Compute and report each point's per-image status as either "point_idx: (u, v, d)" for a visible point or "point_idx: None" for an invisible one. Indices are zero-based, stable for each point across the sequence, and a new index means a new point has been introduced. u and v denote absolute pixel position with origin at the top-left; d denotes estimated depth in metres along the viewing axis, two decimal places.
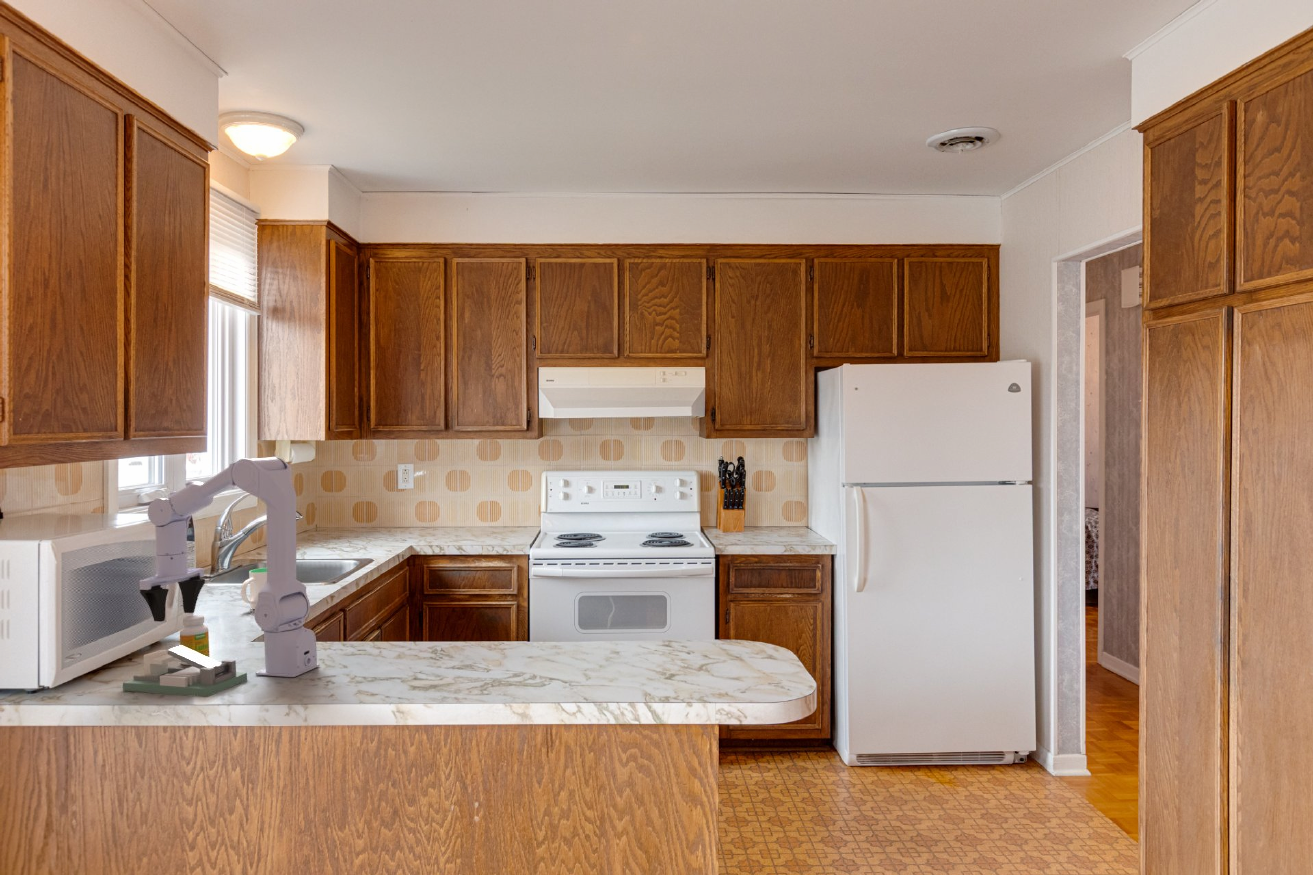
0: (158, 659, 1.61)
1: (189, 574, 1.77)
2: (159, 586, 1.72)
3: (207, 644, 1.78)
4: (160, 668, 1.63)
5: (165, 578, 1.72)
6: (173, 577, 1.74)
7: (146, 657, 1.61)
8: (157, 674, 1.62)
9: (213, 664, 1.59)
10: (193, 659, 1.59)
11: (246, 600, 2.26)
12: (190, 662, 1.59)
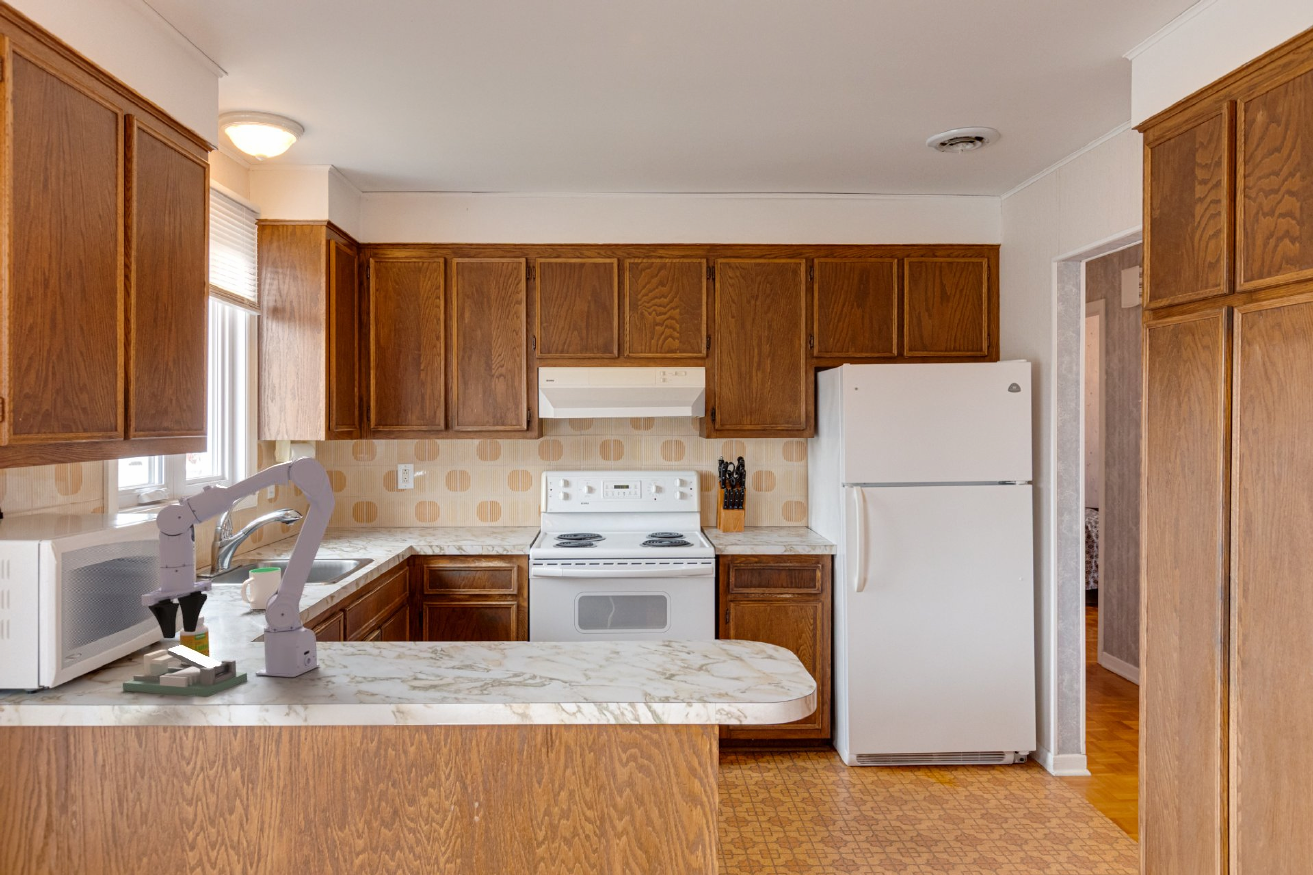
0: (158, 659, 1.61)
1: (196, 588, 1.62)
2: (169, 600, 1.58)
3: (207, 644, 1.78)
4: (160, 668, 1.63)
5: (169, 593, 1.57)
6: (178, 591, 1.58)
7: (146, 657, 1.61)
8: (157, 674, 1.62)
9: (213, 664, 1.59)
10: (193, 659, 1.59)
11: (246, 600, 2.26)
12: (190, 662, 1.59)
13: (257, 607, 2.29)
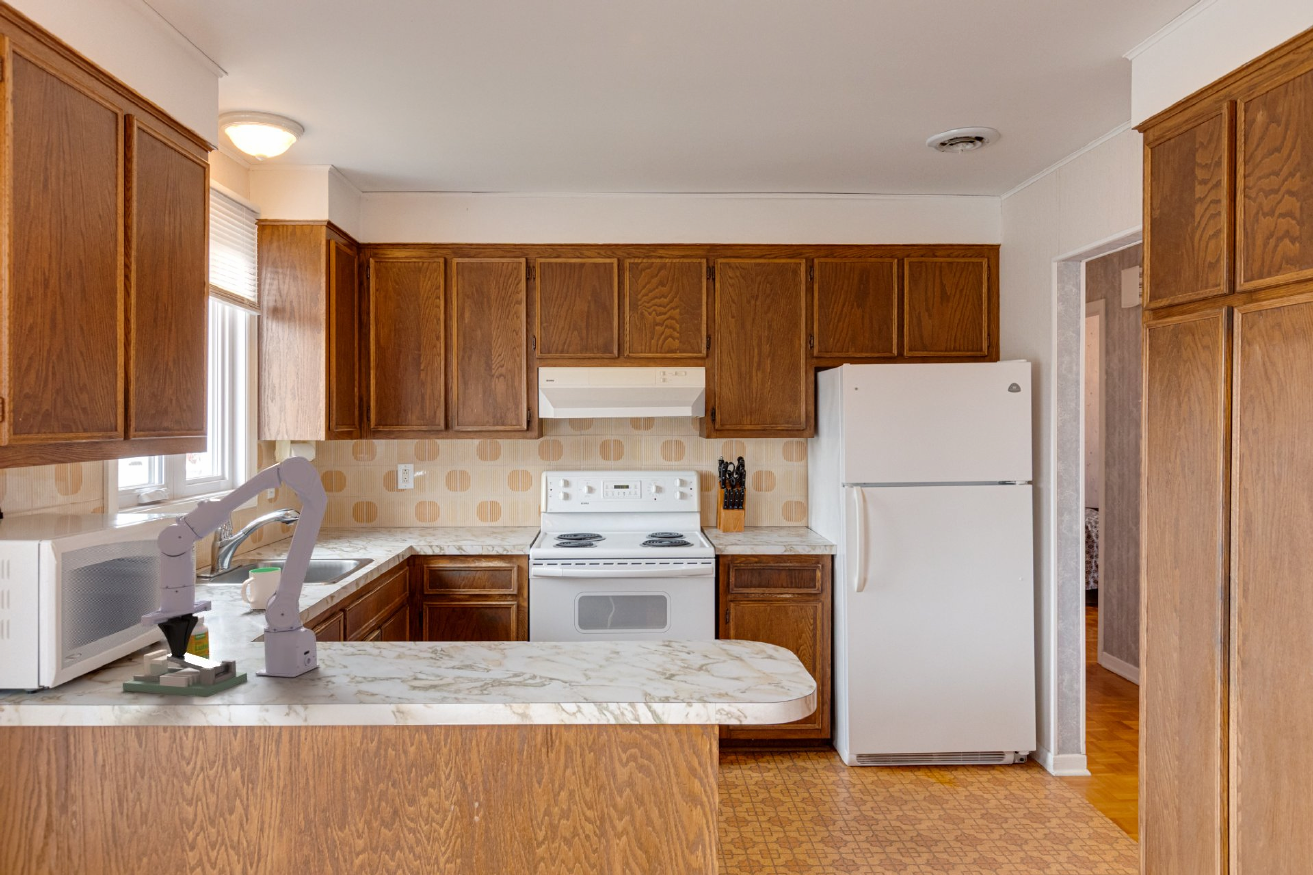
0: (158, 659, 1.61)
1: (195, 608, 1.62)
2: (178, 618, 1.60)
3: (207, 644, 1.78)
4: (160, 668, 1.63)
5: (169, 613, 1.57)
6: (178, 612, 1.58)
7: (146, 657, 1.61)
8: (157, 674, 1.62)
9: (213, 665, 1.59)
10: (192, 662, 1.59)
11: (246, 600, 2.26)
12: (190, 665, 1.59)
13: (257, 607, 2.29)
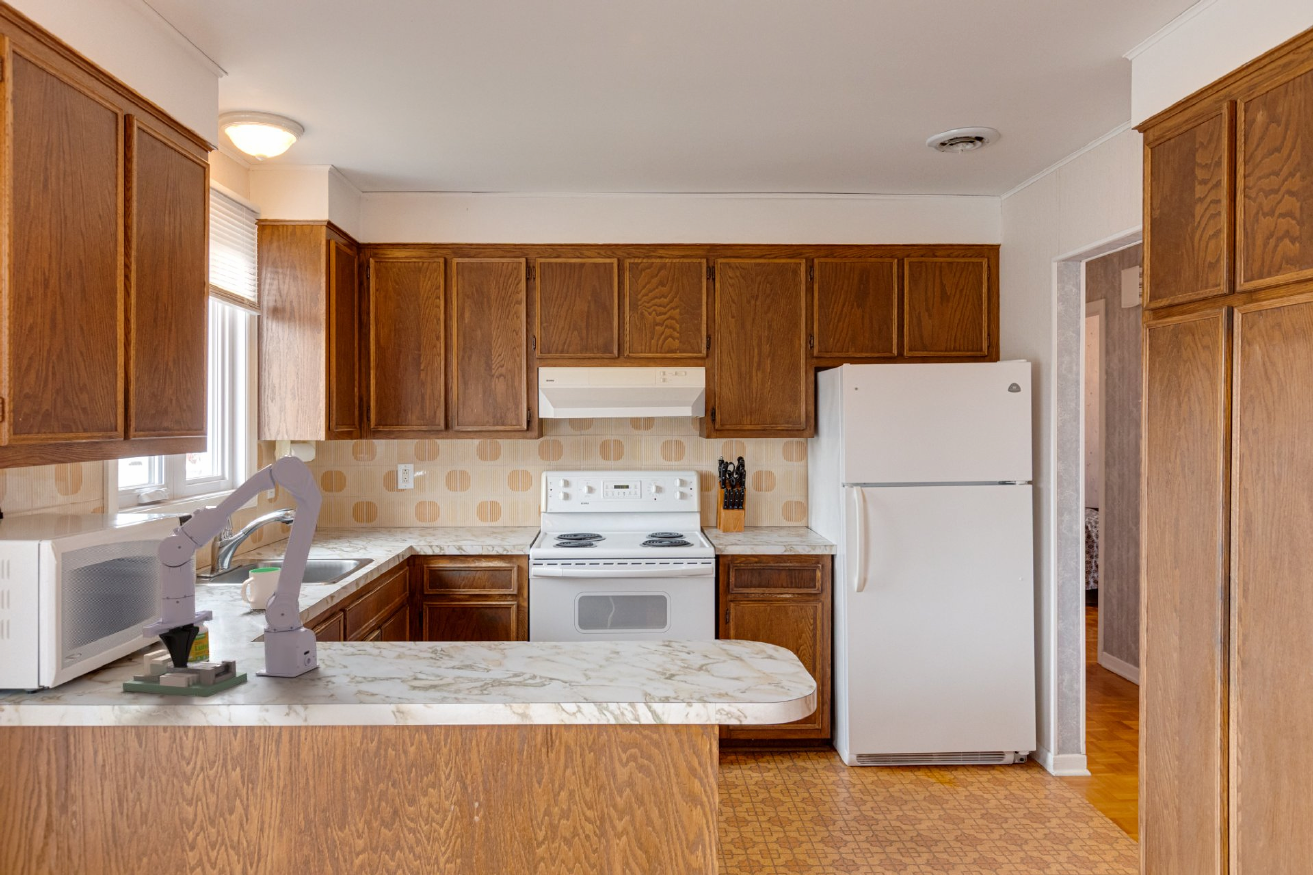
0: (158, 659, 1.61)
1: (196, 618, 1.62)
2: (179, 628, 1.60)
3: (207, 644, 1.78)
4: (160, 668, 1.63)
5: (170, 624, 1.57)
6: (179, 623, 1.58)
7: (146, 657, 1.61)
8: (157, 674, 1.62)
9: (212, 666, 1.59)
10: (192, 667, 1.59)
11: (246, 600, 2.26)
12: (189, 671, 1.59)
13: (257, 607, 2.29)
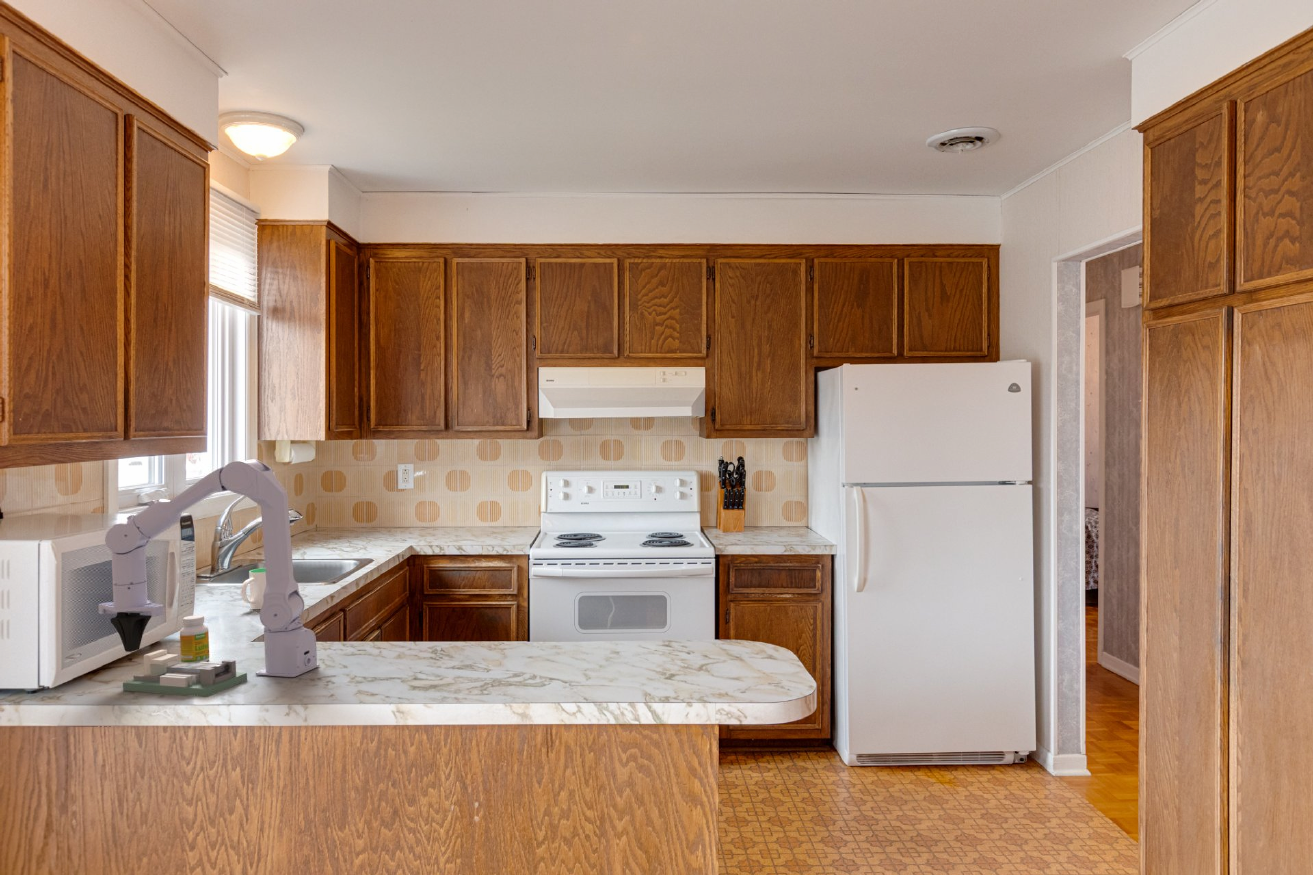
0: (158, 659, 1.61)
1: (125, 609, 1.61)
2: (124, 614, 1.64)
3: (207, 644, 1.78)
4: (160, 668, 1.63)
5: (107, 607, 1.64)
6: (111, 608, 1.63)
7: (146, 657, 1.61)
8: (157, 674, 1.62)
9: (212, 666, 1.59)
10: (192, 667, 1.59)
11: (246, 600, 2.26)
12: (189, 671, 1.59)
13: (257, 607, 2.29)
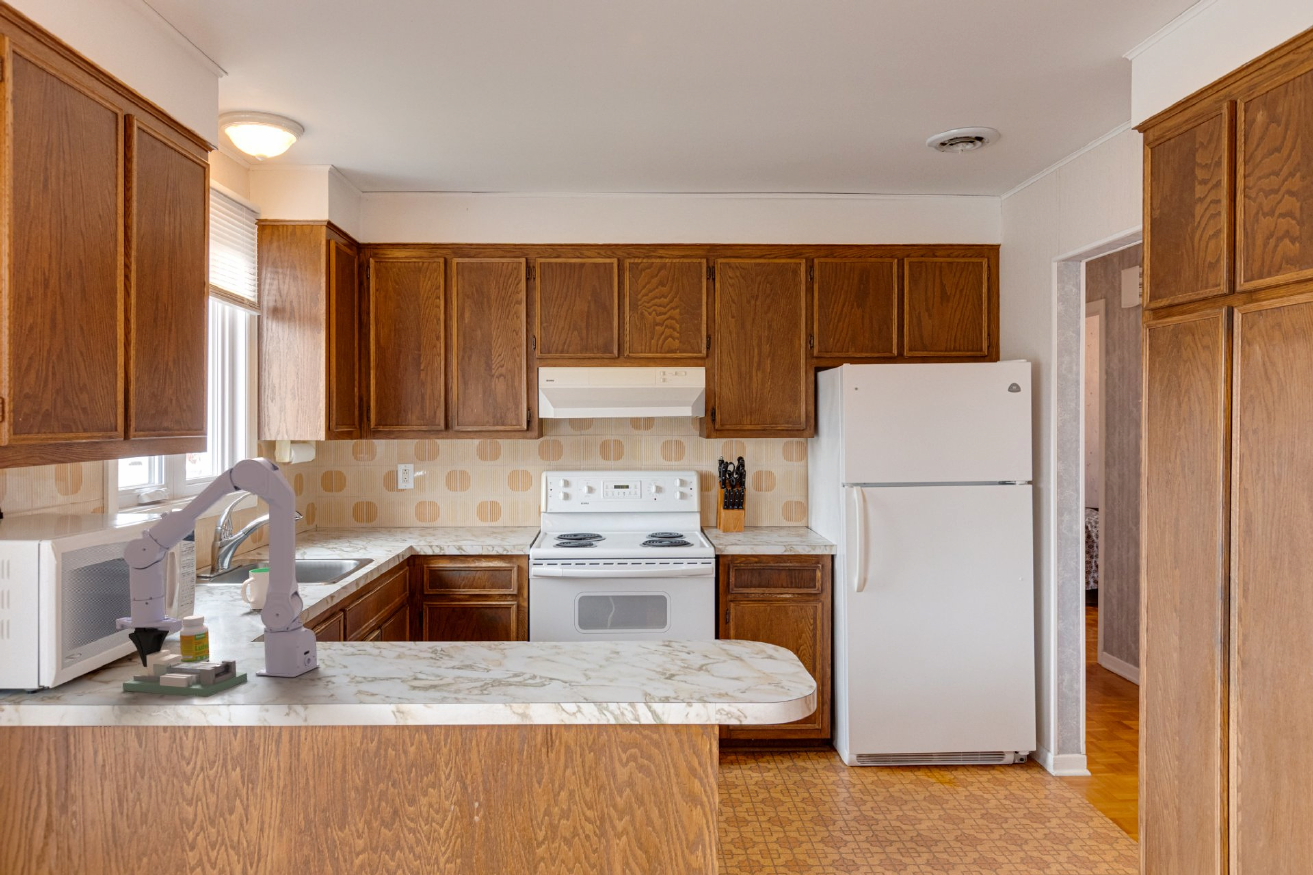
0: (161, 659, 1.61)
1: (144, 625, 1.60)
2: (142, 629, 1.63)
3: (207, 644, 1.78)
4: (163, 668, 1.63)
5: (125, 622, 1.62)
6: (129, 623, 1.61)
7: (149, 657, 1.61)
8: (160, 674, 1.62)
9: (212, 666, 1.59)
10: (192, 667, 1.59)
11: (246, 600, 2.26)
12: (189, 671, 1.59)
13: (257, 607, 2.29)
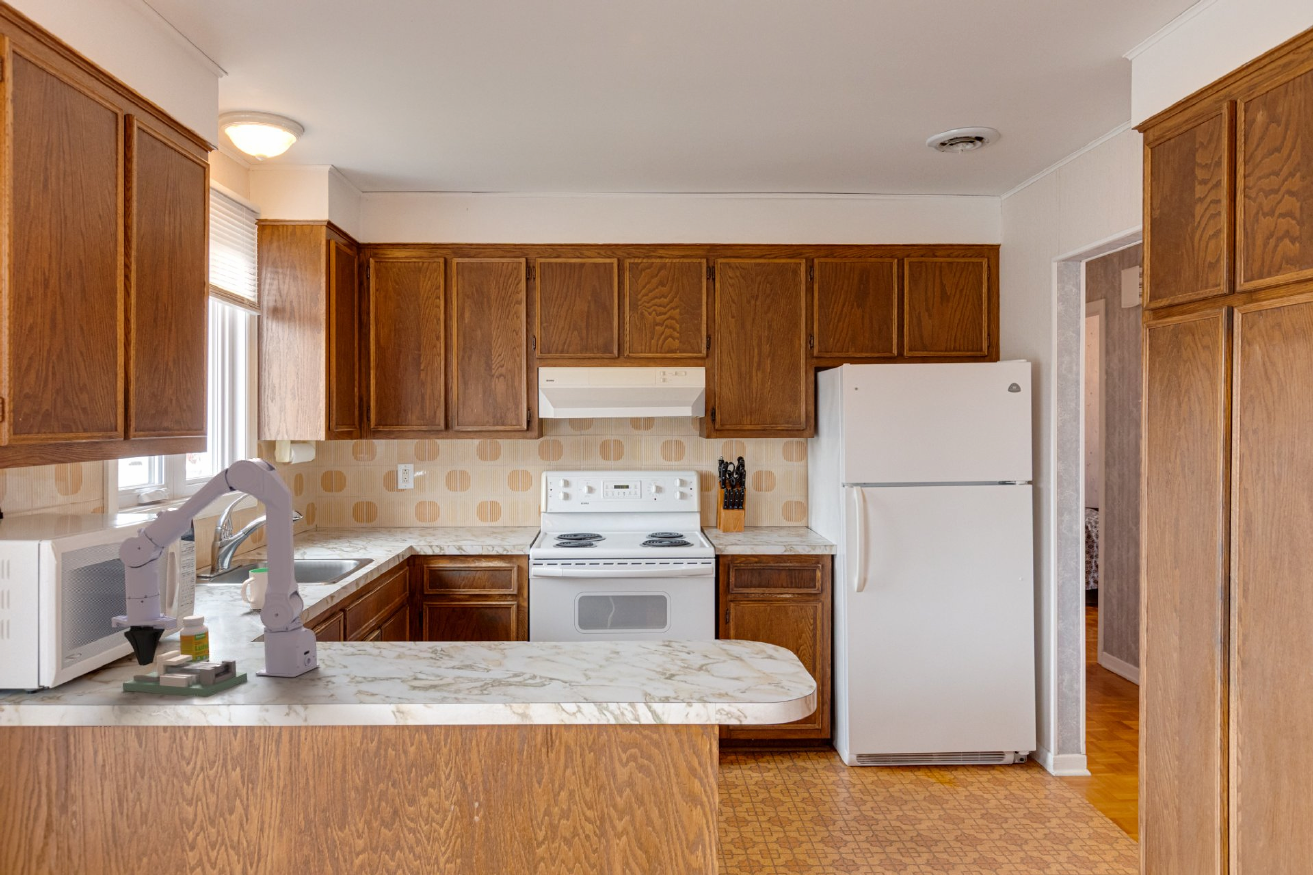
0: (171, 660, 1.60)
1: (139, 623, 1.61)
2: (137, 628, 1.63)
3: (207, 644, 1.78)
4: None
5: (121, 620, 1.63)
6: (124, 621, 1.62)
7: (159, 658, 1.60)
8: None
9: (212, 666, 1.59)
10: (192, 667, 1.59)
11: (246, 600, 2.26)
12: (189, 671, 1.59)
13: (257, 607, 2.29)
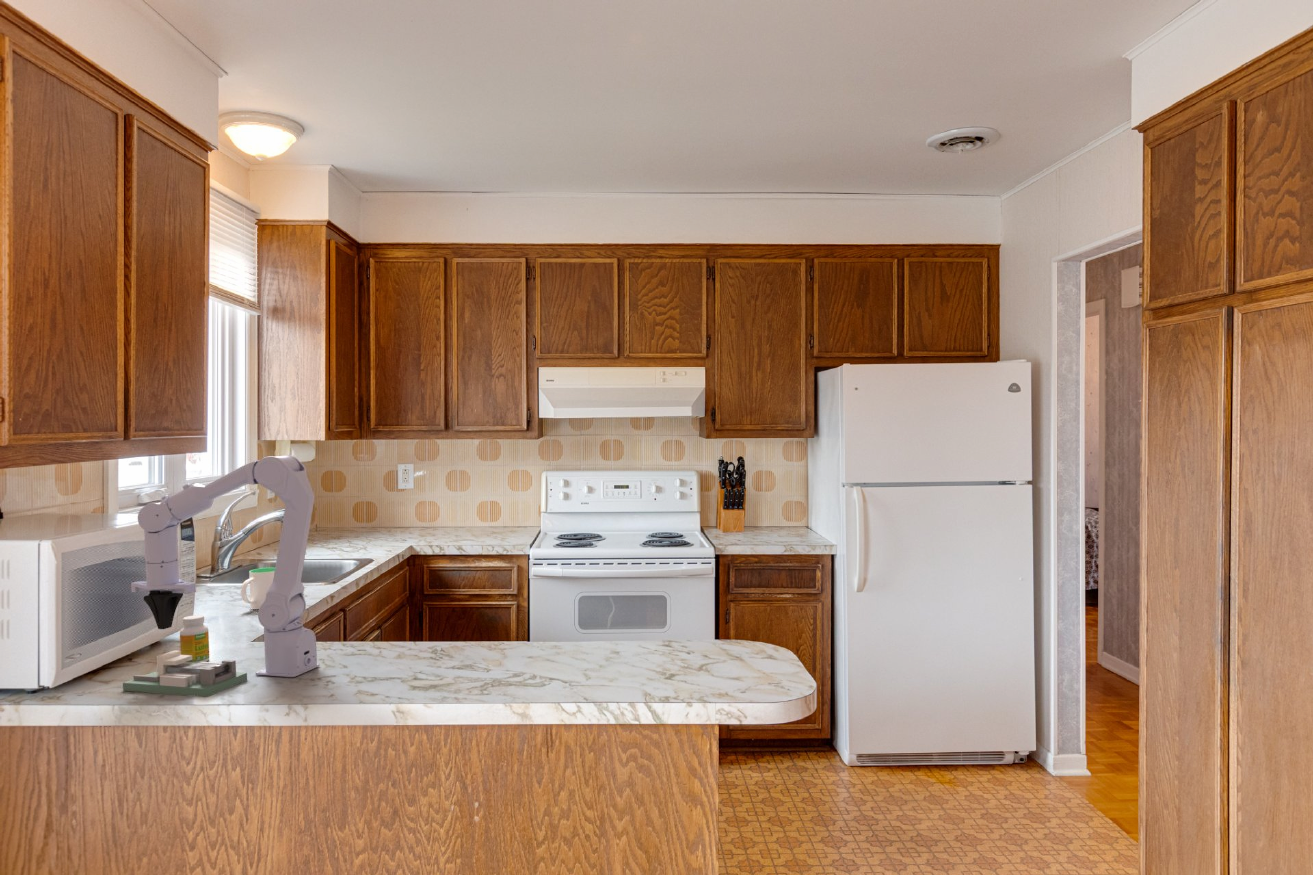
0: (171, 660, 1.60)
1: (159, 587, 1.64)
2: (157, 592, 1.66)
3: (207, 644, 1.78)
4: None
5: (140, 585, 1.66)
6: (144, 586, 1.65)
7: (159, 658, 1.60)
8: None
9: (212, 666, 1.59)
10: (192, 667, 1.59)
11: (246, 600, 2.26)
12: (189, 671, 1.59)
13: (257, 607, 2.29)
